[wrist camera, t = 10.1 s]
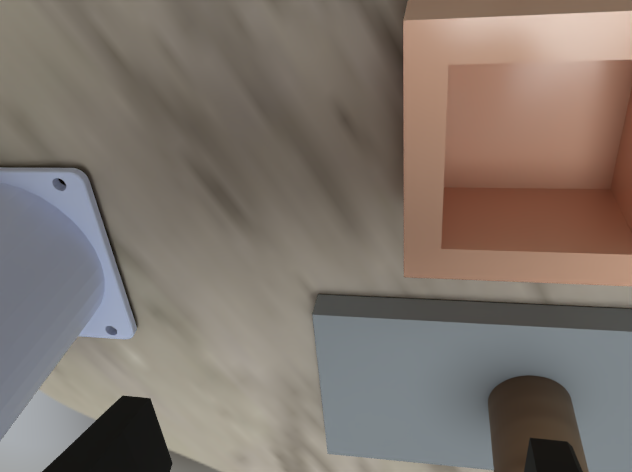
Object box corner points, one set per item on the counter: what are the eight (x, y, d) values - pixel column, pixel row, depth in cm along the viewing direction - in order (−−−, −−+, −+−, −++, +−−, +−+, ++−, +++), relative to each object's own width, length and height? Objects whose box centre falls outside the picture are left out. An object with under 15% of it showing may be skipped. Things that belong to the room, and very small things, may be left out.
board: (332, 431, 27) (327, 453, 26) (317, 294, 23) (312, 314, 22) (720, 467, 24) (731, 493, 23) (788, 316, 20) (806, 340, 19)
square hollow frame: (410, 206, 20) (404, 277, 17) (411, -15, 16) (403, 20, 13) (634, 209, 19) (676, 287, 15) (692, -31, 15) (763, 5, 12)
